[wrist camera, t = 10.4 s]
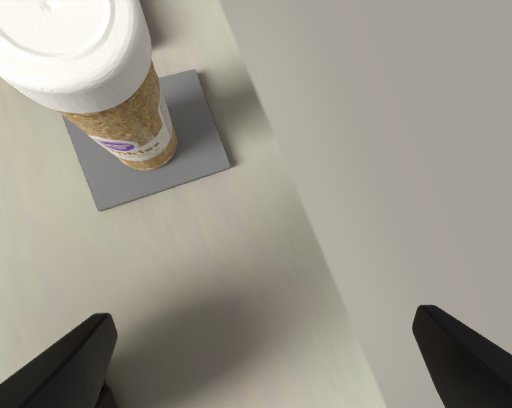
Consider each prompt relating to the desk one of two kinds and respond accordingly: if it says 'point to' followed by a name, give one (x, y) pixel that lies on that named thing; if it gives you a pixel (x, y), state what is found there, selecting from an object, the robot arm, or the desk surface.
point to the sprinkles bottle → (91, 72)
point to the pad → (178, 167)
